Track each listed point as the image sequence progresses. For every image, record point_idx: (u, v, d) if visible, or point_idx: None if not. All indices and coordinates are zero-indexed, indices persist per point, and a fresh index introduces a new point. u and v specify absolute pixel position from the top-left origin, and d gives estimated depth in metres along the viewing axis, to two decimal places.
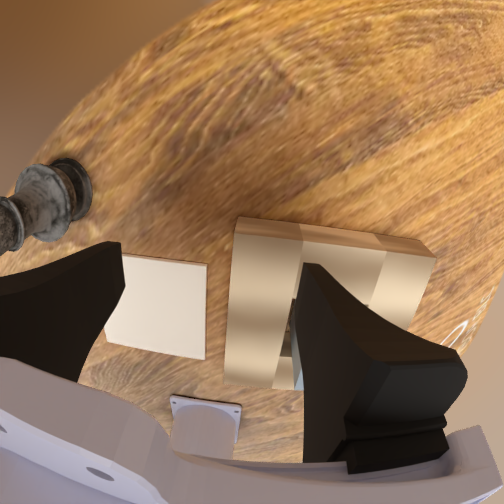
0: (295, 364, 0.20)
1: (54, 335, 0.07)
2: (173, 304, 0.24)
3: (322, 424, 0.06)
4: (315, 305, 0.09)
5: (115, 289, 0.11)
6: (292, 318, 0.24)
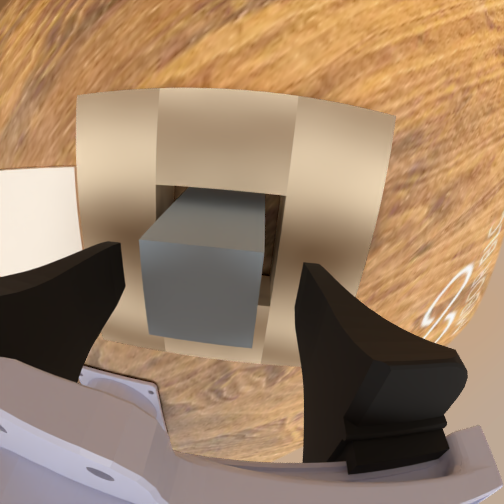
0: None
1: (54, 335, 0.07)
2: (48, 227, 0.16)
3: (322, 424, 0.06)
4: (315, 305, 0.09)
5: (115, 289, 0.11)
6: None
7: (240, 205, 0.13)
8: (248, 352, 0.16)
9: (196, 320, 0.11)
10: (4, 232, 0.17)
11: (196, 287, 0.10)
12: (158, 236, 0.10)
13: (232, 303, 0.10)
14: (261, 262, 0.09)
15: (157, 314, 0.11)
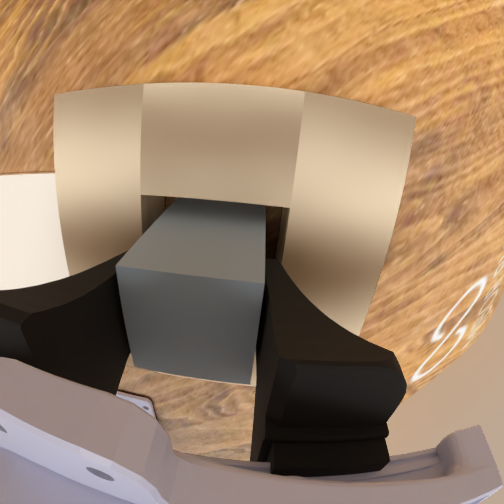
0: None
1: (97, 347, 0.07)
2: (33, 237, 0.15)
3: (258, 422, 0.06)
4: (264, 300, 0.09)
5: None
6: None
7: (237, 218, 0.12)
8: None
9: (186, 355, 0.09)
10: None
11: (184, 321, 0.08)
12: (138, 261, 0.08)
13: (227, 338, 0.08)
14: (261, 294, 0.08)
15: (142, 347, 0.09)
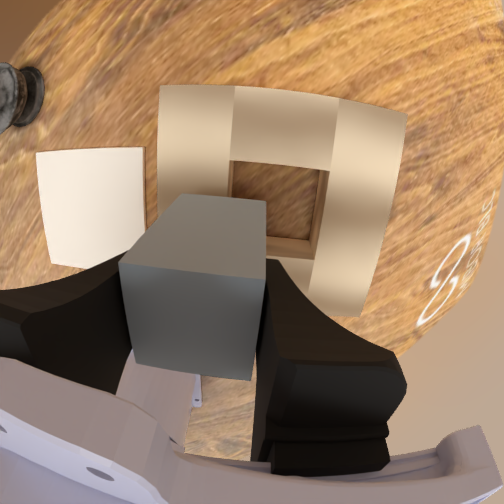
0: None
1: (97, 347, 0.07)
2: (110, 201, 0.20)
3: (259, 422, 0.06)
4: (264, 301, 0.09)
5: None
6: None
7: (237, 216, 0.12)
8: None
9: (187, 351, 0.09)
10: (59, 208, 0.21)
11: (186, 317, 0.08)
12: (141, 258, 0.08)
13: (228, 335, 0.09)
14: (262, 290, 0.08)
15: (144, 344, 0.09)
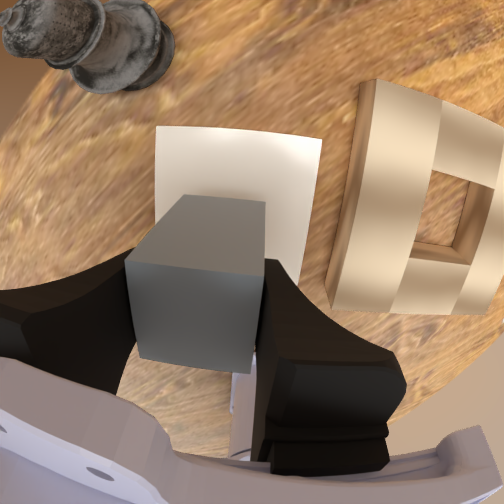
0: None
1: (97, 347, 0.07)
2: (270, 196, 0.18)
3: (258, 421, 0.06)
4: (264, 300, 0.09)
5: None
6: None
7: (238, 216, 0.12)
8: (447, 304, 0.18)
9: (190, 345, 0.09)
10: None
11: (188, 312, 0.09)
12: (146, 256, 0.09)
13: (229, 329, 0.09)
14: (260, 287, 0.08)
15: (148, 338, 0.09)
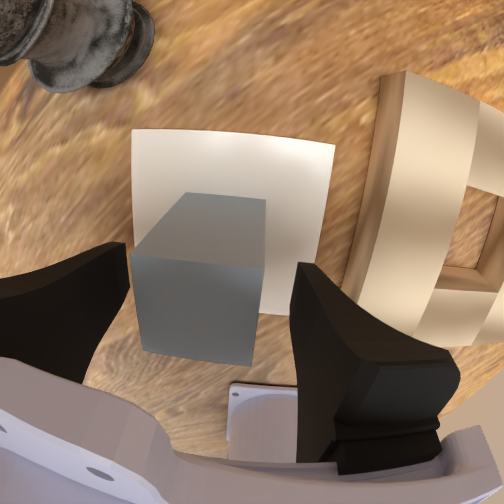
0: None
1: (59, 337, 0.07)
2: (270, 215, 0.15)
3: (313, 424, 0.06)
4: (308, 304, 0.09)
5: (119, 290, 0.11)
6: None
7: (239, 213, 0.13)
8: (469, 335, 0.15)
9: (192, 338, 0.10)
10: None
11: (191, 304, 0.09)
12: (150, 250, 0.09)
13: (230, 321, 0.09)
14: (261, 279, 0.09)
15: (151, 331, 0.10)
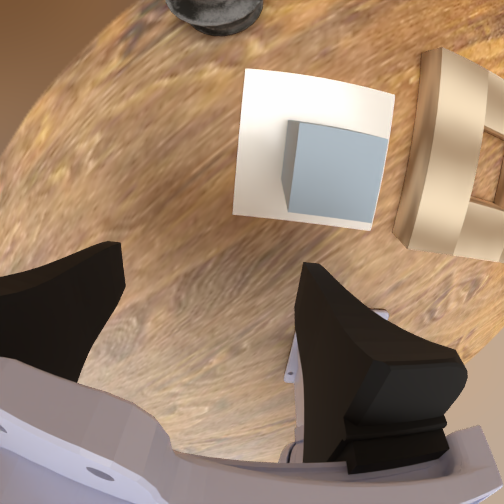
0: (288, 184, 0.14)
1: (54, 335, 0.07)
2: None
3: (322, 424, 0.06)
4: (315, 305, 0.09)
5: (115, 289, 0.11)
6: (283, 162, 0.19)
7: None
8: (496, 251, 0.18)
9: (333, 194, 0.13)
10: (272, 141, 0.19)
11: (338, 164, 0.12)
12: None
13: (363, 178, 0.12)
14: (386, 146, 0.12)
15: (301, 190, 0.13)
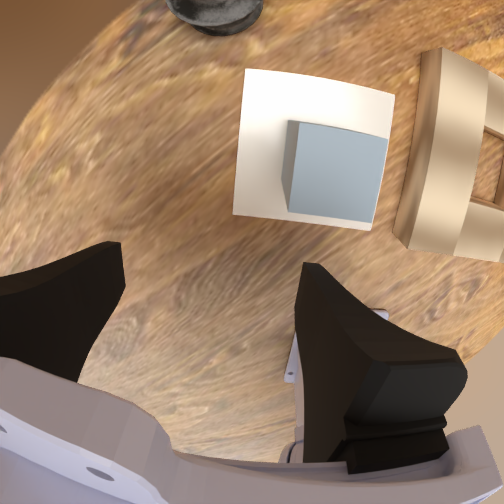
0: (288, 184, 0.14)
1: (54, 335, 0.07)
2: None
3: (322, 424, 0.06)
4: (315, 305, 0.09)
5: (115, 289, 0.11)
6: (283, 162, 0.19)
7: None
8: (496, 251, 0.18)
9: (333, 194, 0.13)
10: (272, 141, 0.19)
11: (338, 164, 0.12)
12: None
13: (363, 178, 0.12)
14: (386, 146, 0.12)
15: (301, 190, 0.13)
